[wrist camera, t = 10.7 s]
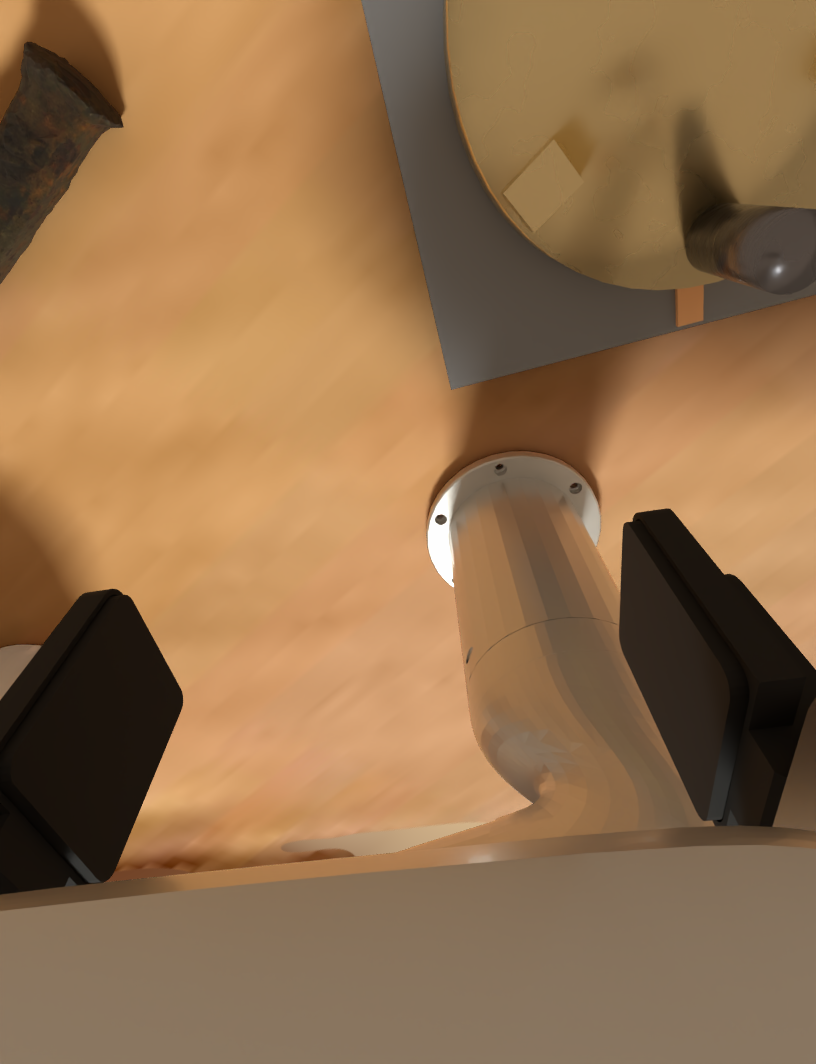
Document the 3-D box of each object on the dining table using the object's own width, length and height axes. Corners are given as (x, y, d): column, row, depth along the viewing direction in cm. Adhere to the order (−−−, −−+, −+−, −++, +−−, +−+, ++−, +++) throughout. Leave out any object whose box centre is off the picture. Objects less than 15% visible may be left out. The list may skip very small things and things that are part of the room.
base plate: (925, 254, 33) (958, 259, 31) (448, 380, 36) (451, 391, 34) (1106, -678, 18) (1190, -781, 16) (288, -315, 22) (277, -364, 20)
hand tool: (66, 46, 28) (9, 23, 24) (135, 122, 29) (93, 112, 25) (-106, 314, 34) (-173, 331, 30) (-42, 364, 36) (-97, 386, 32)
